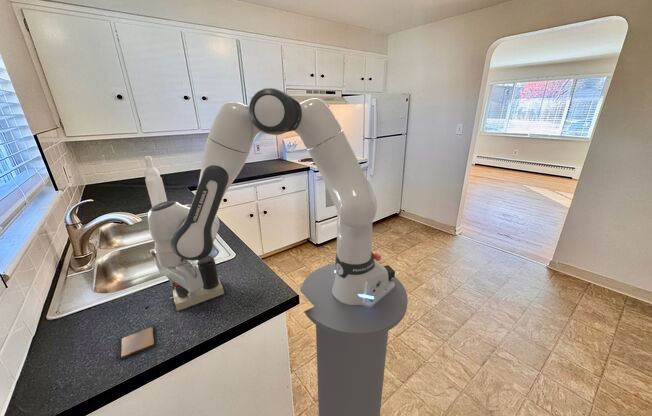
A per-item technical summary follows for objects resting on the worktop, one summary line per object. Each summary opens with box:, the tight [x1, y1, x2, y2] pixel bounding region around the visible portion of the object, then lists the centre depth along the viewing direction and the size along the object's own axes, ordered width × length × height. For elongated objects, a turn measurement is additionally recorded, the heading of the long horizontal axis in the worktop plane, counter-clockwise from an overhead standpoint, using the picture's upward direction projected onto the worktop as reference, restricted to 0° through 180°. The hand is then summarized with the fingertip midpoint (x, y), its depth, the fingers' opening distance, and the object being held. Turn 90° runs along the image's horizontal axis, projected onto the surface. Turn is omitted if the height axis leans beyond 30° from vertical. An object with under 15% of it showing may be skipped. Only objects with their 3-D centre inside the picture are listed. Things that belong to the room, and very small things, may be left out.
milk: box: [144, 173, 168, 208], centre depth 158 cm, size 6×6×22 cm
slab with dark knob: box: [169, 277, 225, 312], centre depth 87 cm, size 15×8×3 cm, turn 124°
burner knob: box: [174, 284, 189, 298], centre depth 84 cm, size 4×4×4 cm
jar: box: [196, 254, 220, 290], centre depth 87 cm, size 5×5×10 cm
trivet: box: [120, 326, 155, 359], centre depth 71 cm, size 7×7×1 cm
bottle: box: [144, 155, 161, 179], centre depth 166 cm, size 8×8×30 cm
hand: (183, 292), depth 85 cm, fingers open, 8 cm apart
